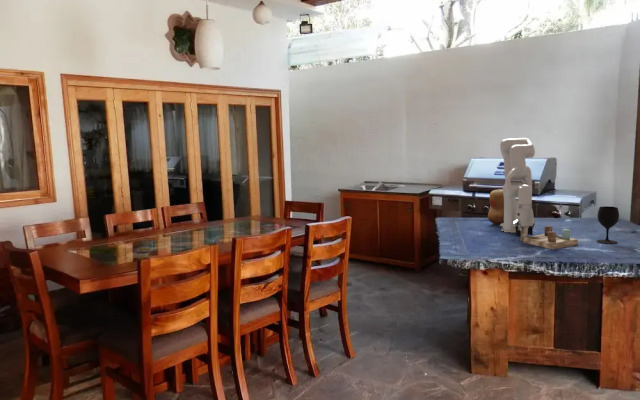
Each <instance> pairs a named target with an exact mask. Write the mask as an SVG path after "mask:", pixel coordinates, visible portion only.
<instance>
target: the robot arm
mask: <svg viewBox="0 0 640 400" xmlns="http://www.w3.org/2000/svg"><path fill="white" fill-rule="evenodd" d="M499 146H500V149H499V150H500V152H501V155H502V158H503V166H504V167H503V169H504V170H503V171H504V173H503V174H504V179H505V181H504V184H503V186H502V190H503V195H504V223H501V224H500V225H499V226H500V227H502V228H501V230H500V231H502V232H503V231H504V233H509V232H510V233H511V234H513V233H514V234H515V237H518V238H520V237H521V230H520V229H521V227H527V226H528V235H529V236H534V234H533V232H534V231H533V230H534V226H535V224H536V220H535V218H534V216H535V215H534V211H533V208H532V207H533V205H532V203H533V198H532V197H533V181H532V180H533V177H532V176H533V175H532V170H531V168H530V166H527V165H526V164H527V161H526V159H533V158H534V157H535V154H536V151H535V150H536V149H535V146H534V145H533V143H532V141H531V139H529V138H527V137H518V138H515V137H514V138H504V139H502V141H501V142H500V144H499ZM514 181H515V182H514ZM517 181H518V182H517ZM519 181H521V182H519ZM516 198H517V199H516Z"/></svg>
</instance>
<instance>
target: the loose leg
mask: <svg viewBox="0 0 640 400" xmlns="http://www.w3.org/2000/svg"><path fill="white" fill-rule="evenodd" d="M528 228H529V227H528V226H527V227H521V229H520V230H521V237H519V238H520V240H519V241H520V242H523V237H529V236H528Z"/></svg>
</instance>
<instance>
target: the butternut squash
mask: <svg viewBox="0 0 640 400" xmlns="http://www.w3.org/2000/svg"><path fill="white" fill-rule="evenodd" d="M489 205H490V206H489V207H490V208H489V210H488V214H487V219H488V221H489V222H491V223H492V224H493V225H495V224H497V225H496V226H500V225H499V224H501V223H504V195H503V188H502V189H500V188H499V189H494V190H492V191H491V192H490V193H489Z"/></svg>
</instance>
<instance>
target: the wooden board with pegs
mask: <svg viewBox="0 0 640 400" xmlns="http://www.w3.org/2000/svg"><path fill="white" fill-rule="evenodd" d="M556 234H557V232H556V231H553V226H551V225H545V226H544V233H543V234H535V235H529V236H528V237H523V241H522V243H524V244H529V245H532V246H538V247H541V248H546V249H550V250H557V249H561V248H567V247H571V246H573V247H574V246H577V245H579V244H578V243H579V239H578V238H574V237H572V238H571V237H570V239H562V238H559V237H556Z"/></svg>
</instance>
